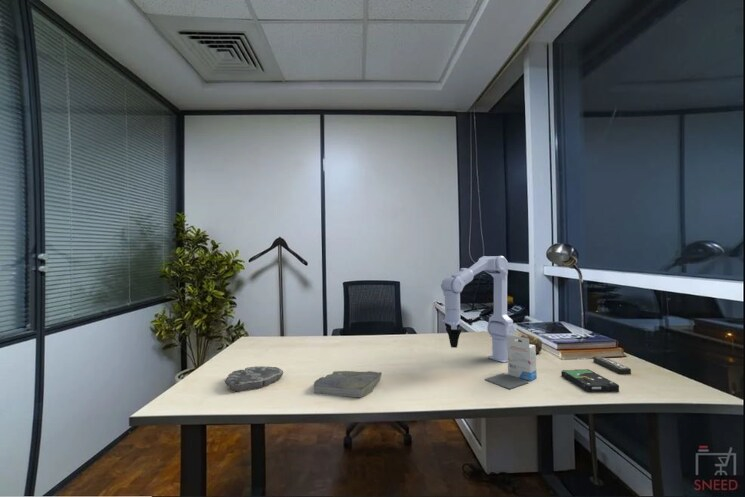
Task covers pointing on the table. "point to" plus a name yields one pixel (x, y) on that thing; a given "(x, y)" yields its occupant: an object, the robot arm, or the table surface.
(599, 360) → the multiport hub
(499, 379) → the mat
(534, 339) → the seashell
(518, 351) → the ink box
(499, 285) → the robot arm
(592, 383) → the disk drive
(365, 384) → the fossil
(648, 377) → the table surface
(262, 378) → the brain slice
